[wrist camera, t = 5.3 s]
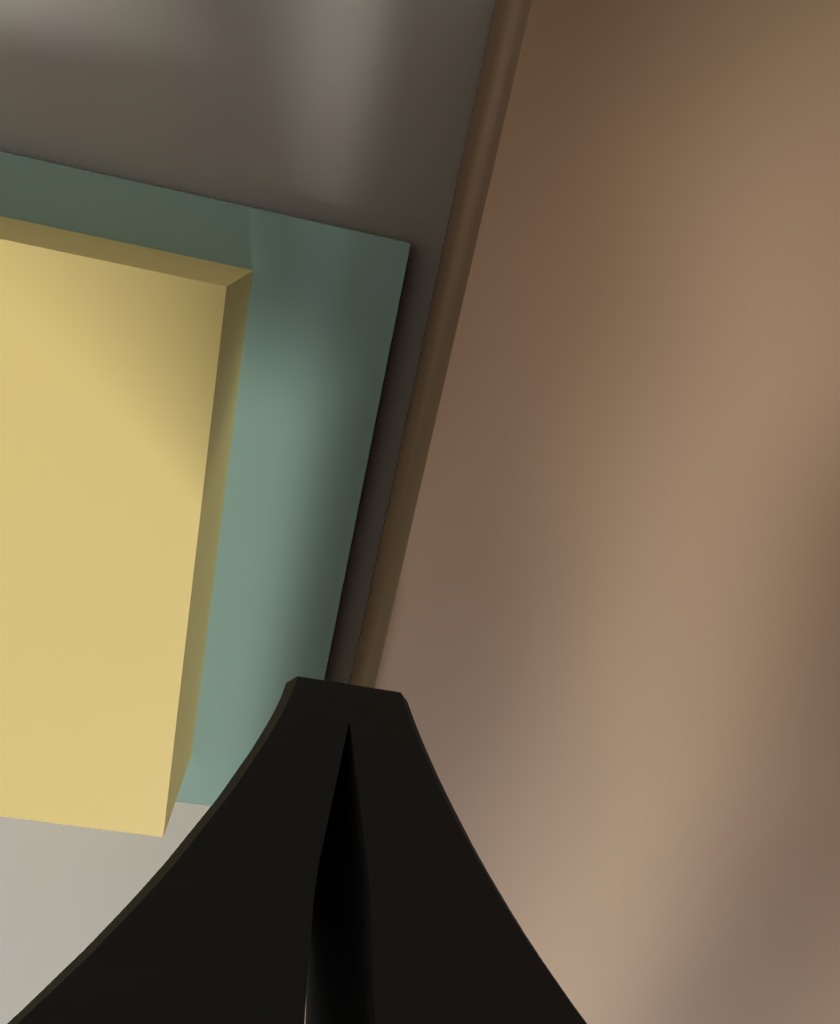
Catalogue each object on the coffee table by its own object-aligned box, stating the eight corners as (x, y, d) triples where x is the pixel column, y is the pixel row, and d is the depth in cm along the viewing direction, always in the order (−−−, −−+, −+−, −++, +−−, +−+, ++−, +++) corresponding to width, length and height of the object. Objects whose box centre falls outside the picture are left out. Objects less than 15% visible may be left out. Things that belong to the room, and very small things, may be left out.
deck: (1381, 214, 12) (1827, 226, 8) (843, 1053, 19) (950, 1257, 16) (501, -21, 10) (563, -138, 7) (284, 992, 18) (256, 1204, 14)
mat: (409, 242, 12) (410, 244, 11) (298, 805, 16) (296, 817, 15) (-240, 97, 11) (-257, 94, 10) (-177, 741, 15) (-189, 752, 14)
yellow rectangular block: (-306, 174, 9) (-185, 176, 11) (-226, 787, 12) (-145, 707, 14) (227, 286, 9) (253, 270, 11) (162, 837, 13) (191, 755, 15)
